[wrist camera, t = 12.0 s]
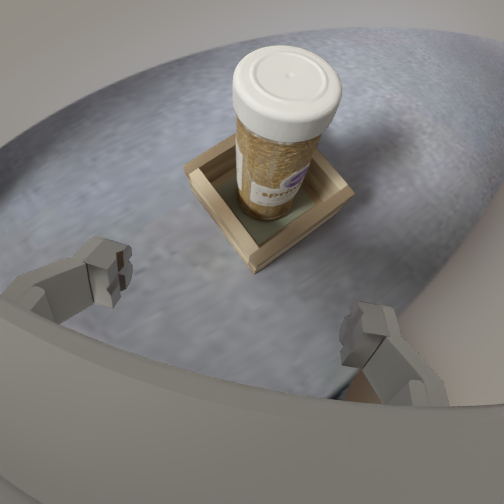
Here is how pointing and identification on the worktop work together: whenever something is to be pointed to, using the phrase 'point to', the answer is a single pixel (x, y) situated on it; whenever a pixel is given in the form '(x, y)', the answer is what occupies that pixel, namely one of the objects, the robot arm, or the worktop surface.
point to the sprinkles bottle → (279, 124)
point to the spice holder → (256, 231)
